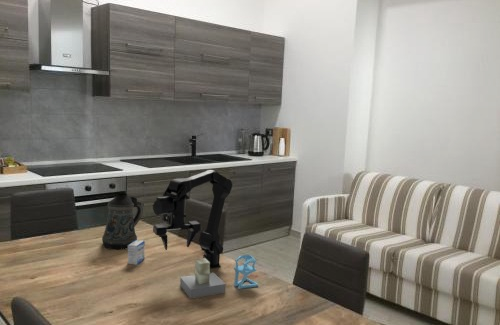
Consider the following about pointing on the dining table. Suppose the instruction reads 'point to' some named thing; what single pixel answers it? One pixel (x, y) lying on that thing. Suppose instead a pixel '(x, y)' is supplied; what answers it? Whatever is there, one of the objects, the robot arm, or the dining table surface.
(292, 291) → the dining table surface
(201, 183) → the robot arm
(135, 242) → the medicine box
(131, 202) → the beer stein
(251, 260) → the light blue lattice frame
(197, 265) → the sage block
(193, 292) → the grey block
